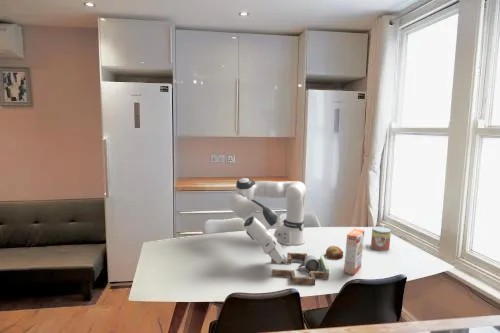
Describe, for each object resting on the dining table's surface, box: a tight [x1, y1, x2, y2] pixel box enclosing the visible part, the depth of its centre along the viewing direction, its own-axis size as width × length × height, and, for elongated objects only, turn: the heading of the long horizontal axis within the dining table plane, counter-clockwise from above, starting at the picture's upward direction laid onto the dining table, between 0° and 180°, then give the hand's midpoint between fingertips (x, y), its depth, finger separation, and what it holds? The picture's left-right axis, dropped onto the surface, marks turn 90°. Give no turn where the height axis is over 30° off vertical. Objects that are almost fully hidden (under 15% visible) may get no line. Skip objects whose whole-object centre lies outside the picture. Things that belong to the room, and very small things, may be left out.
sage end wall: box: [319, 255, 330, 274], centre depth 187 cm, size 2×18×5 cm, turn 178°
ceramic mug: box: [297, 254, 321, 274], centre depth 188 cm, size 11×8×8 cm
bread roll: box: [324, 245, 344, 260], centre depth 209 cm, size 10×10×8 cm
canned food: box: [370, 226, 392, 252], centre depth 226 cm, size 11×11×12 cm
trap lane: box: [270, 252, 330, 286], centre depth 187 cm, size 28×33×3 cm
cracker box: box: [343, 228, 365, 276], centre depth 189 cm, size 14×6×21 cm, turn 148°
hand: (286, 261), depth 187 cm, fingers closed
